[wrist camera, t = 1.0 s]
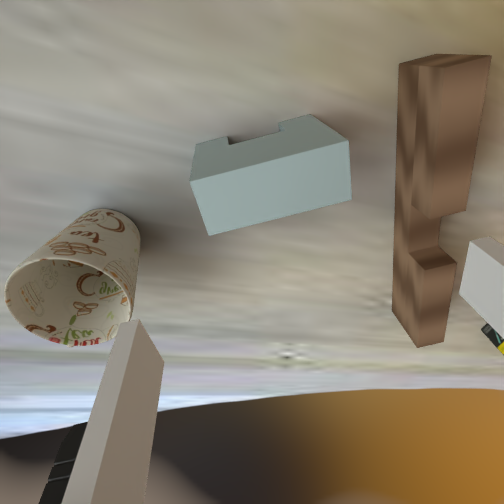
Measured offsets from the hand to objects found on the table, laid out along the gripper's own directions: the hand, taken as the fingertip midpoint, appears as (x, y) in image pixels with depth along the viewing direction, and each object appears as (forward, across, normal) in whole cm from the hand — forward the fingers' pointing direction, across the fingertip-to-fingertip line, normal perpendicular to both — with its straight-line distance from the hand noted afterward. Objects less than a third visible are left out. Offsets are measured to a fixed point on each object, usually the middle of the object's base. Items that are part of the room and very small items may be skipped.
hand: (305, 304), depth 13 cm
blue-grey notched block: (+19, 0, +1) cm, 19 cm away
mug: (+19, -16, -6) cm, 26 cm away
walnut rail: (+19, +15, -9) cm, 25 cm away
